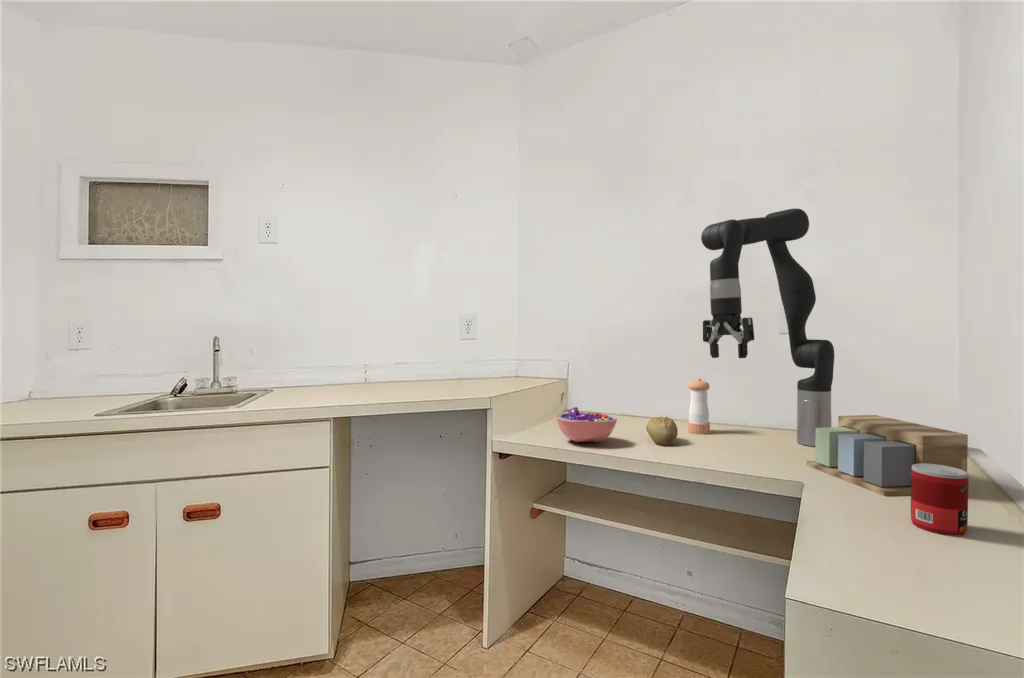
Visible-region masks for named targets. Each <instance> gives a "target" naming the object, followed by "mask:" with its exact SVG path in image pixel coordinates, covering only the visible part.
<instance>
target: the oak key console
mask: <svg viewBox="0 0 1024 678" xmlns="http://www.w3.org/2000/svg"><path fill="white" fill-rule="evenodd" d="M837 420H838V421H837V422H838V423H837V427H849V428H853V429H857V430H860V434H876V435H880V436H884V437H886V441H903V442H907V443H911V444H915V445H916V464H920V463H924V464H937V465H944V466H949V467H954V468H958V469H961V470H964V471H966V472H967V473H968V451H969V450H968V449H969V447H968V445H969V442H968V441H969V434H967V433H962V432H957V431H953V430H949V429H944V428H938V427H933V426H930V425H929V426H928V425H924V424H920V423H915V422H910V421H907V420H906V421H905V420H900V419H896V418H891V417H886V416H882V415H876V414H869V415H868V414H867V415H864V414H863V415H838V419H837ZM806 465H807V466H809V467H811V468H814V469H816V470H819V471H821V472H824V473H826V474H829V475H832V476H833V477H837V478H839V479H841V480H844V481H846V482H847V483H848V482H849V483H852V484H854V485H856V486H859V487H861V488H863V489H866V490H868V489H869V491H870V492H874V493H876V494H879V495H881V496H883V495H884V496H883V497H889V496H890V497H894V496H895V497H896V496H911V486H888V487H881V486H878V485H876V484H873V483H870V482H868V481H865V480H864V476H852V475H849V474H847V473H844V472H841V471H839V470H838V467H828V466H826V465H823V464H820V463H818V462H815V460H806Z"/></svg>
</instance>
